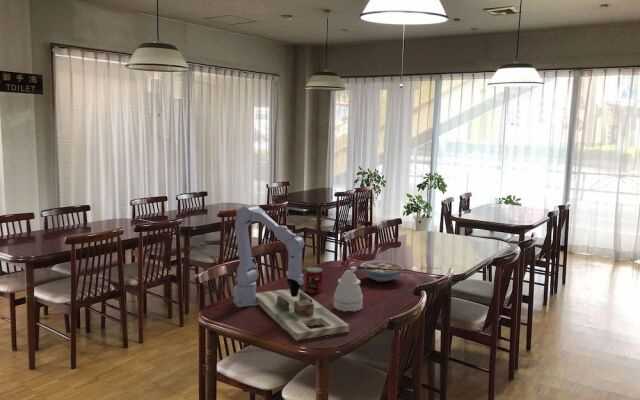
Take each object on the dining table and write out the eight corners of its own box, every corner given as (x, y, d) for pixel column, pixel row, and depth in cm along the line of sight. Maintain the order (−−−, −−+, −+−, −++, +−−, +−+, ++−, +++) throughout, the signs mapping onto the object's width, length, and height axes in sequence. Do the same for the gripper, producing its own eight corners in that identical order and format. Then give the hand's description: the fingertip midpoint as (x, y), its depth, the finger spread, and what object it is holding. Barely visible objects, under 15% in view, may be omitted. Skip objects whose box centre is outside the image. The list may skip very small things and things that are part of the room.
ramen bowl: (404, 275, 282) (404, 260, 280) (406, 287, 259) (407, 272, 258) (358, 272, 284) (358, 258, 283) (356, 285, 261) (357, 269, 260)
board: (296, 341, 191) (296, 324, 190) (253, 299, 236) (253, 285, 235) (348, 332, 201) (349, 316, 200) (297, 293, 245) (297, 280, 245)
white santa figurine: (360, 301, 237) (362, 263, 234) (363, 311, 224) (365, 271, 221) (332, 301, 236) (333, 263, 234) (334, 311, 224) (335, 271, 221)
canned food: (302, 292, 248) (303, 269, 247) (310, 287, 256) (311, 266, 254) (316, 294, 245) (317, 272, 243) (324, 290, 252) (325, 268, 250)
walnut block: (299, 316, 208) (300, 305, 208) (294, 311, 214) (294, 301, 213) (313, 314, 211) (313, 303, 210) (307, 309, 216) (307, 299, 215)
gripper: (310, 268, 214) (309, 300, 216) (296, 260, 227) (296, 290, 228) (295, 270, 211) (294, 302, 213) (281, 261, 223) (281, 291, 225)
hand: (294, 296), depth 220 cm, fingers closed
